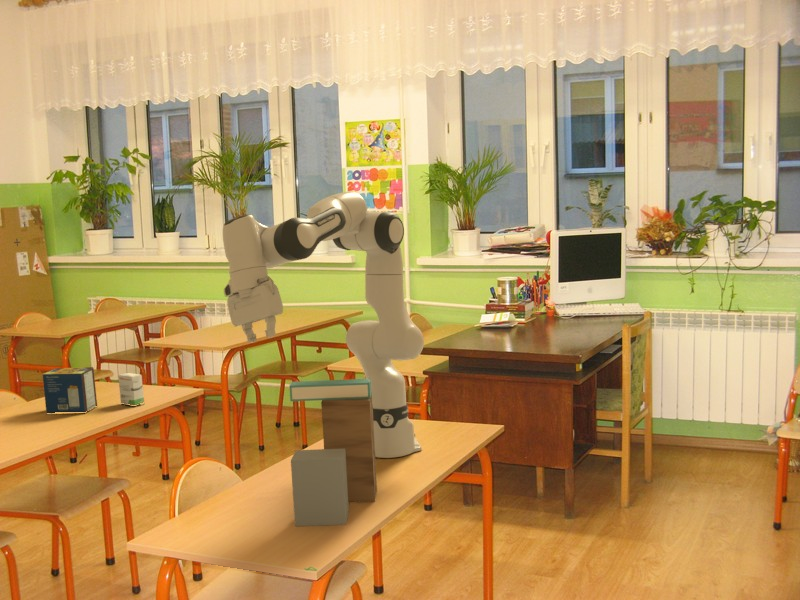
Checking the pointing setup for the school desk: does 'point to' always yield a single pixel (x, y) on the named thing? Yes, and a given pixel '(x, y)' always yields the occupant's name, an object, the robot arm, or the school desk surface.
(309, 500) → the step
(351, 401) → the bookcase block
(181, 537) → the school desk surface
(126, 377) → the ink box
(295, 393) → the book
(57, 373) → the protein box
